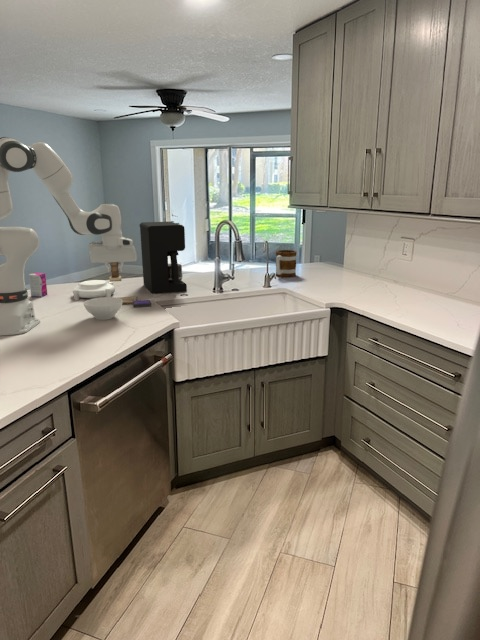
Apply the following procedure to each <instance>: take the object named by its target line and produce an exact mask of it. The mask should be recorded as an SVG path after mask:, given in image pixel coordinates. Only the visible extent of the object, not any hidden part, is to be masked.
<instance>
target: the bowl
mask: <svg viewBox="0 0 480 640" xmlns="http://www.w3.org/2000/svg"><path fill="white" fill-rule="evenodd" d="M122 302H123V300H122V299H120V298H117V297H114V296H111V297H106V296H105V297H100V298H89V299H87V300H85V301H84V302H83V306H84V308H85V310H86V311H87V312H88V313H89V314H90V315H92V316H93V317H94V318H95V319H96V320H99V321H106V320H110V319H113V318H114V317H115V316H116V314H117V313H118V312H119V311H120V309H122V306H123V305H122Z"/></svg>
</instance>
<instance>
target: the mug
mask: <svg viewBox="0 0 480 640" xmlns="http://www.w3.org/2000/svg"><path fill="white" fill-rule="evenodd" d="M297 253H298V250H293V249H279V250H276V252H275V256H276V257H275V277H277V278H290V279H291V278H295V277H297V271H296V270H297V269H296V268H297Z"/></svg>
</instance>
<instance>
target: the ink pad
mask: <svg viewBox="0 0 480 640" xmlns="http://www.w3.org/2000/svg"><path fill="white" fill-rule="evenodd" d="M132 305H133V308H146V307H148V308H149V307H152V303H151V299H138V300H135V301H133V304H132Z"/></svg>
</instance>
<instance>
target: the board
mask: <svg viewBox="0 0 480 640" xmlns="http://www.w3.org/2000/svg"><path fill="white" fill-rule="evenodd" d="M138 297H139V296H122V297H121V296H120V297H119V296H118V297H117V296H116V298H120V299H122V300H123V302H122V306H126V305H127V306H129V305H133V301H135V300H139V298H138Z"/></svg>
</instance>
